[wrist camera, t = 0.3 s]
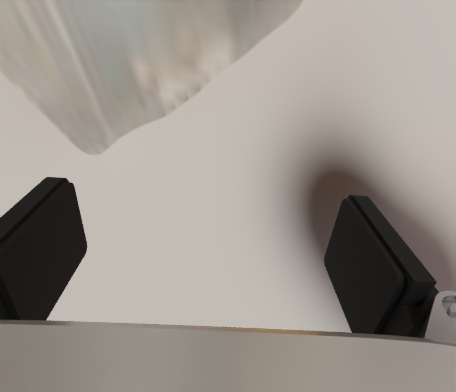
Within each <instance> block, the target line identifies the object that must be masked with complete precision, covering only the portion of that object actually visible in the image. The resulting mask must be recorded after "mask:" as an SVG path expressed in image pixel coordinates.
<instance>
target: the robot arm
mask: <svg viewBox="0 0 456 392" xmlns="http://www.w3.org/2000/svg"><path fill="white" fill-rule="evenodd" d="M86 250H87V242H86V237H85V233H84V228H83V224H82V219H81V215H80V210H79V206H78V201H77V197H76V192H75V188H74V185H73V183H69V181H68V180H67V179H66V178H54V177H47V178H45V179H44V180H43V181H41V182H40V184H38V185H37V186H36V187H35V188H34V189H32V190H31V191H30V192H29V193H28V194H27V195H26V196H24V197H23V198H22V199H21V200H20V201H19V202H18V203H17V204H15V205H14V206H13V207H12V208H11V209H10V210H9V211H7V212H6V213H5V214H4V215H3V216H2V217H1V218H0V392H456V292H454V291H442V292H440V293H439V292H438V290H437V289H436V288H435V287H434V286H435V284H436V281H435V279H434V278H433V277H432V276H431V274H430V273H429V272H428V271H427V269H426V268H425V267H424V266H423V264H422V263H421V262H420V261H419V259H418V258H417V257H416V256H415V255H414V253H413V252H412V251H411V250H410V248H409V247H408V246H407V244H406V243H405V242H404V241H403V240H402V238H401V237H400V236H399V235H398V233H397V232H396V231H395V230H394V228H393V227H392V226H391V225H390V223H389V222H388V221H387V220H386V218H385V217H384V216H383V215H382V213H381V212H380V211H379V210H378V208H377V207H376V206H375V205H374V203H373V202H372V201H371V200H370V198H369V197H367V196H356V195H350V196H349V197H348V198H347V199H344V200H343V201H342V203H341V206H340V210H339V213H338V216H337V219H336V222H335V225H334V228H333V232H332V235H331V238H330V241H329V244H328V247H327V251H326V254H325V258H324V263H325V267H326V270H327V272H328V274H329V277H330V279H331V282H332V284H333V287H334V289H335V292H336V294H337V297H338V299H339V302H340V304H341V307H342V309H343V312H344V314H345V317H346V319H347V322H348V324H349V326H350V329H351V331H352V333H346V332H326V331H304V330H282V329H260V328H258V329H257V328H235V327H211V326H185V325H159V324H133V323H102V322H73V321H46V319H47V318H48V316H49V314H50V312H51V311H52V309H53V308H54V306H55V304H56V303H57V301H58V299H59V297H60V296H61V294H62V292H63V291H64V289H65V287H66V286H67V284H68V282H69V281H70V279H71V277H72V276H73V274H74V272H75V270H76V269H77V267H78V265H79V264H80V262H81V260H82V259H83V257H84V256H85V253H86Z"/></svg>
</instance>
